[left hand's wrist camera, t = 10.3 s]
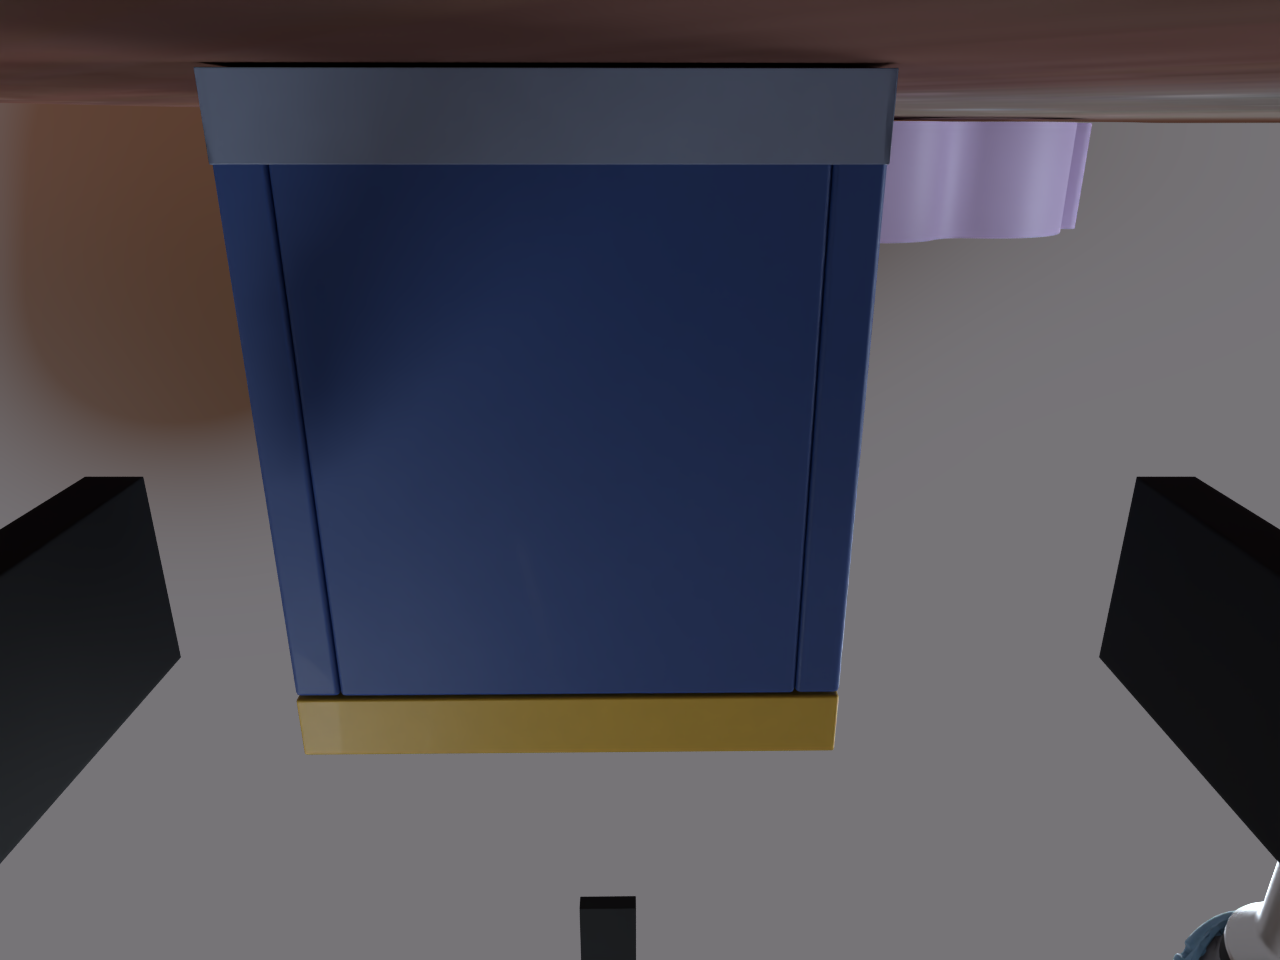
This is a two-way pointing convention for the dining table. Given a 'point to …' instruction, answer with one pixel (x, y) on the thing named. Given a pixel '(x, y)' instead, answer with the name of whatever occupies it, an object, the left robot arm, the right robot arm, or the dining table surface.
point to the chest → (556, 367)
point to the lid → (568, 722)
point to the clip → (983, 179)
